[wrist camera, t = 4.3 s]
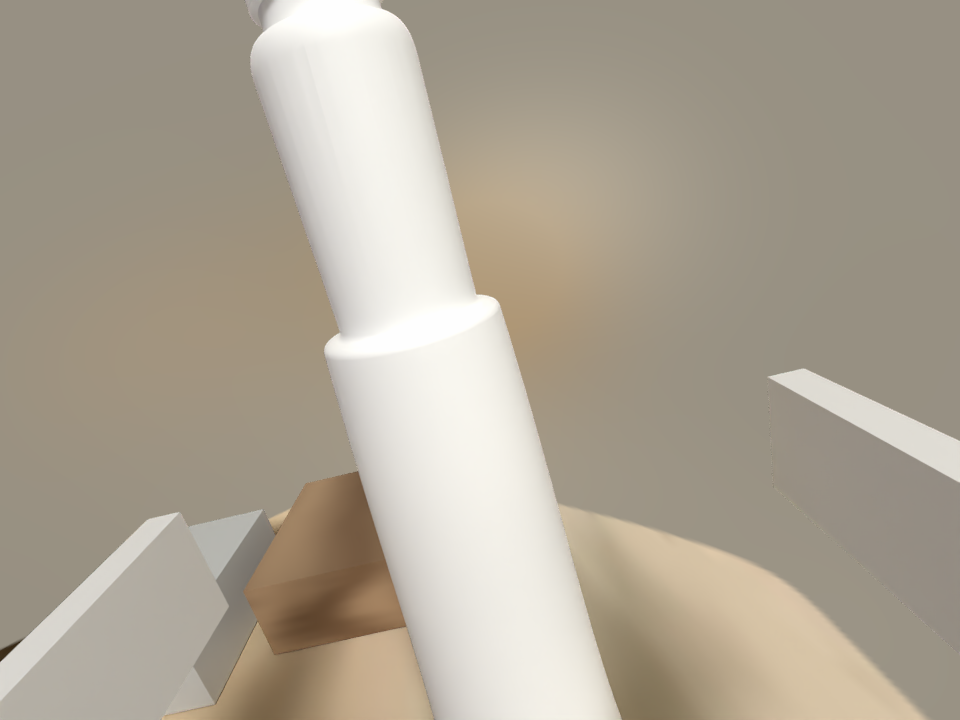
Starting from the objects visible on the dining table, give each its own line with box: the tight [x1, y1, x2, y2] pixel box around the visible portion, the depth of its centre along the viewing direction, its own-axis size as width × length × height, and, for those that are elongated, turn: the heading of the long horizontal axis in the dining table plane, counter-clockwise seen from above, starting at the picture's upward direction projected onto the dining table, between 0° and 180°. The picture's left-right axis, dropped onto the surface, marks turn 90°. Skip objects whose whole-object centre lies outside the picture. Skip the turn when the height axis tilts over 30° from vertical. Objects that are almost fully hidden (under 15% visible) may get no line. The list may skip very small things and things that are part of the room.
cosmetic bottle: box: [245, 0, 622, 720], centre depth 11 cm, size 6×6×22 cm
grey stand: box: [12, 509, 276, 715], centre depth 25 cm, size 9×9×4 cm
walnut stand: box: [243, 471, 406, 655], centre depth 26 cm, size 9×9×4 cm
